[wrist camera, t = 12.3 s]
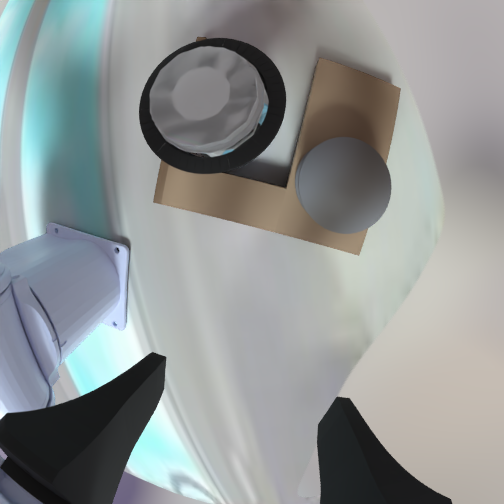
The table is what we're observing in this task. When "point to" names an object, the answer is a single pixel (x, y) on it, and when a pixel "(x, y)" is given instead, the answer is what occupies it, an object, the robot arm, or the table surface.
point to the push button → (212, 106)
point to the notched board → (320, 123)
